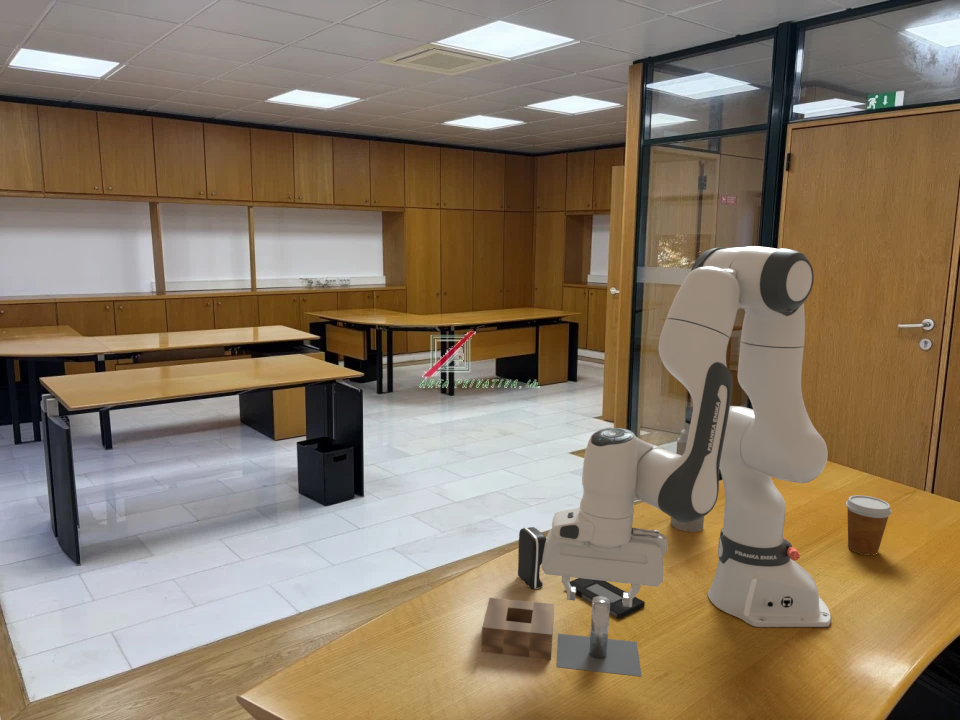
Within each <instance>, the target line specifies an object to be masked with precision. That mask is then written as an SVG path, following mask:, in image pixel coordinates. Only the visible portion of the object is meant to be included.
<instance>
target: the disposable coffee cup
mask: <svg viewBox="0 0 960 720" xmlns="http://www.w3.org/2000/svg"><path fill="white" fill-rule="evenodd" d="M845 506H846V509H847V547H849V548H850V549H851V550H850V549H849V548H848V549H849V550H850V551H852V550H853V551H852V552H854V551H855V552H854V553H856V552H858V553H857V554H859V553H861V555H863V554H867V555H866V556H874V555H873V554H876V553H877V554H879V550H880V548H881V547H880V546H881V544H882V539H883V537H884V534H885V529H886V527H887V525H888V524H887V523H888V520H889V517H890V515H891V514H892V509H891V505H890V503H888V502H887V501H885V500H883V499H880V498H877V497H874V496H870V495H869V496H868V495H861V494H860V495H850V496H849V497H848V499H847V501H846V502H845ZM868 554H869V555H868ZM877 554H876V555H877Z"/></svg>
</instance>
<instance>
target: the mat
mask: <svg viewBox="0 0 960 720" xmlns="http://www.w3.org/2000/svg"><path fill="white" fill-rule="evenodd" d="M589 648H590V636H585V635H584V636H583V635H574V634H566V633H558V634H557V648H556V649H557V651H556V652H557V653H556V668H558V669H559V668H561V669H571V670H579V671H588V672H597V673H606V674H614V675H615V674H616V675H623V676H634V677H643V676H642V668H641V663H640V655H639V646H638V642H637V641H632V640H621V639H612V638H608V643H607V656H606V657H605V658H604V659H595V658H593V657H591V656H590V654H589Z"/></svg>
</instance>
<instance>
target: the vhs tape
mask: <svg viewBox="0 0 960 720" xmlns="http://www.w3.org/2000/svg"><path fill="white" fill-rule="evenodd" d="M569 583H570V585H571V587H576V596H578V597H580V598H582V599H585V600H586V601H587V602H589V603H591V604H592V599H593V598H594V597H597V596H602V597H606V598H608V599H609V600H610V612H609V615H612V616H614V617H615V618H616V619H617V620H621V619H623V618H625V617H627V616H629V615H631V614H633V613H635V612H637V611H639V610H641V609H643V608H645V604H646V602H645V601H644V600H642V599H640V598H638V597H636V596H635V597H634V598H632V607H625V606H623V604H622V599H623V593H628V592H627V591H625V590H623V589H621V588H620V587H618V586H615V585H614V584H612V583H610V582H609V581H601V580H592V579H583V578H575V579H573V580H570V582H569Z"/></svg>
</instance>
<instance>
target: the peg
mask: <svg viewBox="0 0 960 720" xmlns="http://www.w3.org/2000/svg"><path fill="white" fill-rule="evenodd" d="M609 612H610V600H609V599H608V598H606V597H602V596H597V597H594V598H593V599H592V603H591V615H590V616H591V618H590V632H589V633H590V635H589V637H590V648H589V654H590V656H591V657H593V658H595V659H604V658H605V657H606V656H607V643H608V639H609V627H610V625H609V624H610V613H609Z"/></svg>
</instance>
